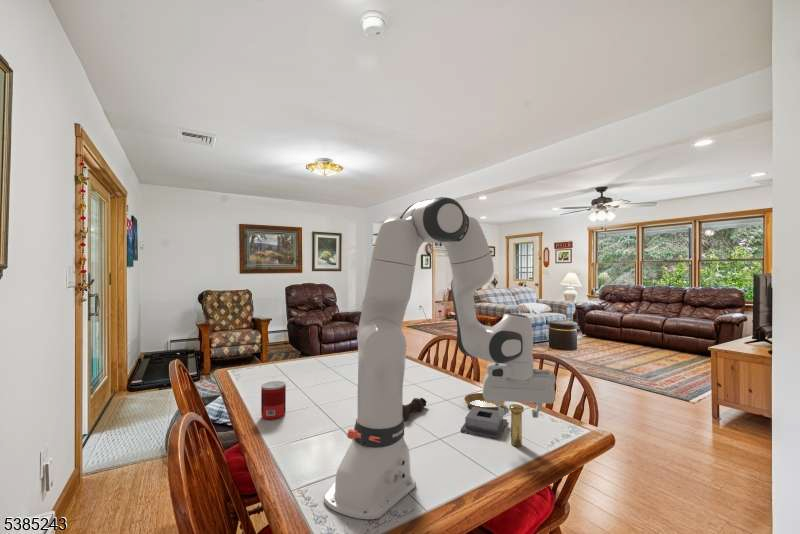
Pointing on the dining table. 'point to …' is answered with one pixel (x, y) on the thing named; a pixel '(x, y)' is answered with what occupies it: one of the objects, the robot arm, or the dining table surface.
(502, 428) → the grey socket base
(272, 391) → the canned food
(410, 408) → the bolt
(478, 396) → the plant saucer
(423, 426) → the dining table surface
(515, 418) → the pin
